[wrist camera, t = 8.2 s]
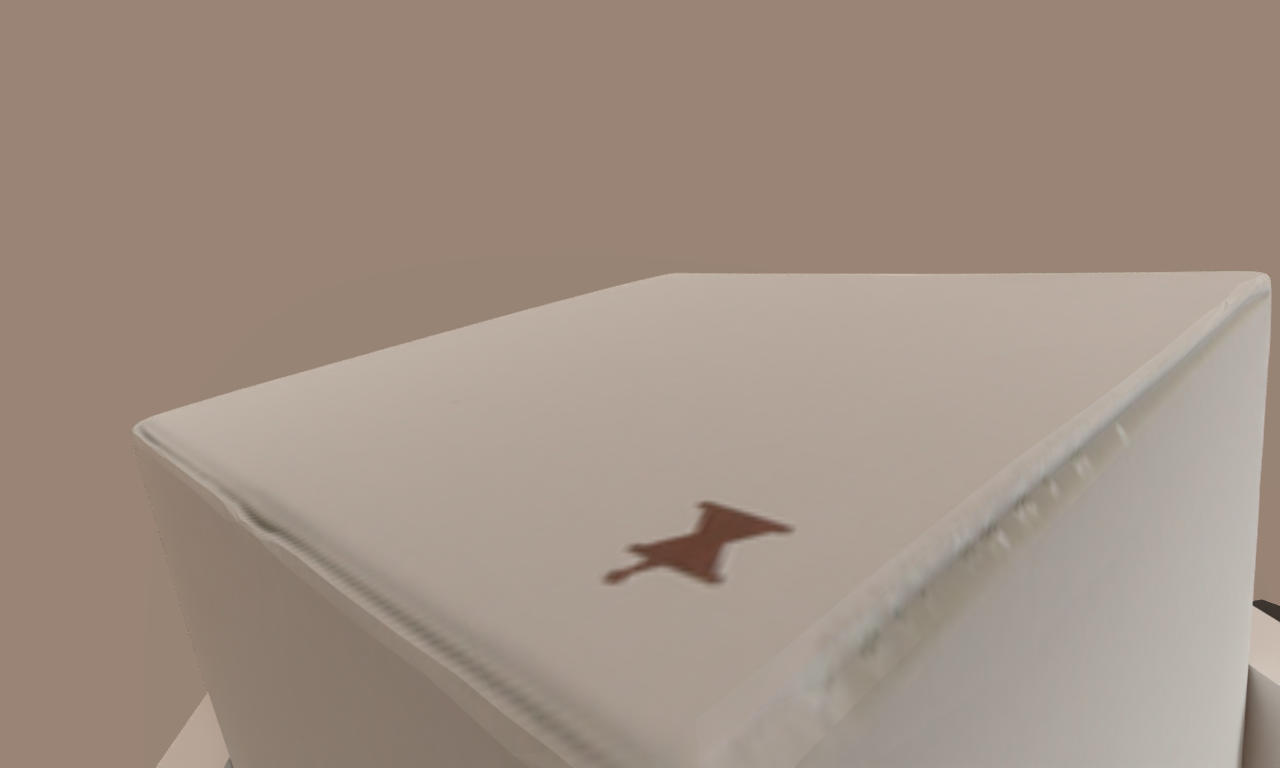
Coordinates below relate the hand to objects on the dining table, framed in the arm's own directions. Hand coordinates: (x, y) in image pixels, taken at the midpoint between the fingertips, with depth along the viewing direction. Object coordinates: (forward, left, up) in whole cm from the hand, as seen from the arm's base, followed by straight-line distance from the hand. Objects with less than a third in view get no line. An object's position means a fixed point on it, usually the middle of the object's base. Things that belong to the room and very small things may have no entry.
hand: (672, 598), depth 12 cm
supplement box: (+1, +4, -8) cm, 9 cm away
